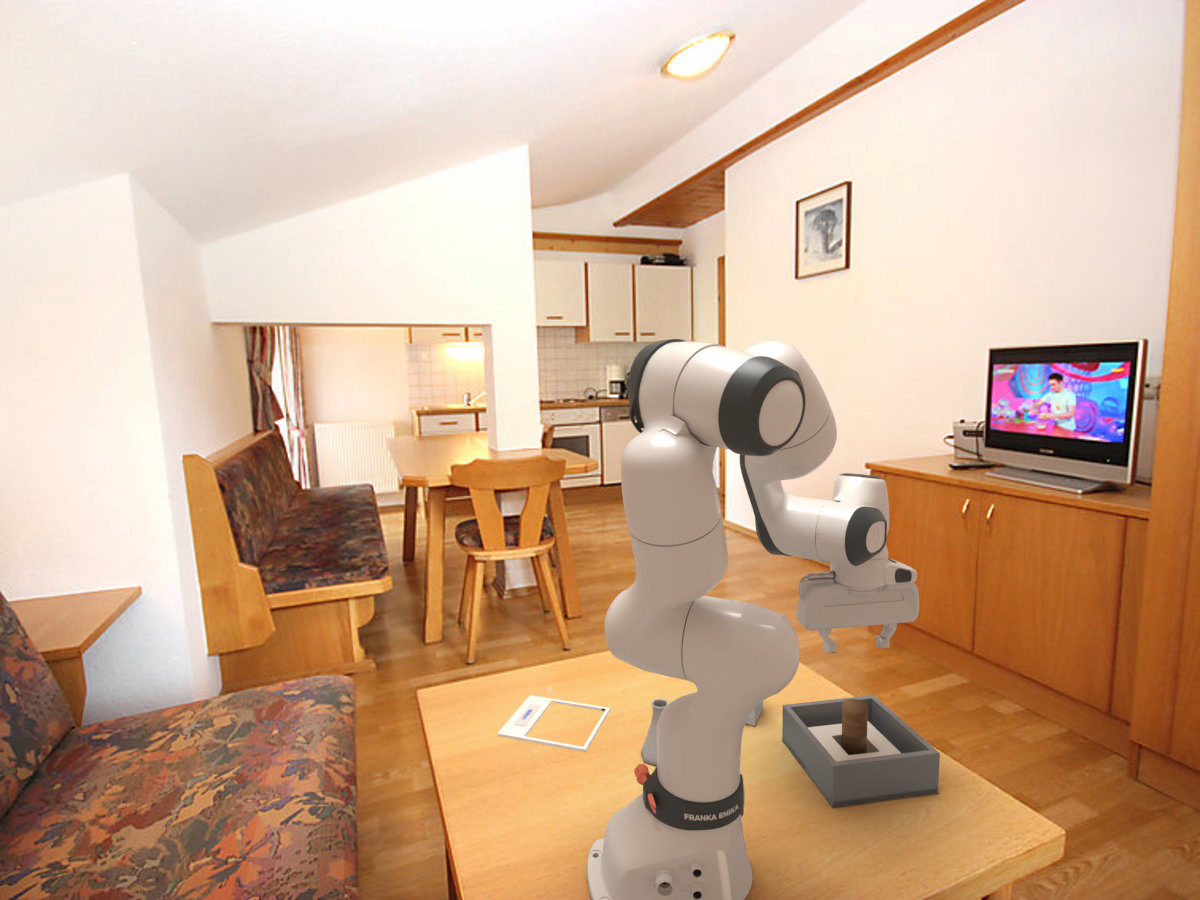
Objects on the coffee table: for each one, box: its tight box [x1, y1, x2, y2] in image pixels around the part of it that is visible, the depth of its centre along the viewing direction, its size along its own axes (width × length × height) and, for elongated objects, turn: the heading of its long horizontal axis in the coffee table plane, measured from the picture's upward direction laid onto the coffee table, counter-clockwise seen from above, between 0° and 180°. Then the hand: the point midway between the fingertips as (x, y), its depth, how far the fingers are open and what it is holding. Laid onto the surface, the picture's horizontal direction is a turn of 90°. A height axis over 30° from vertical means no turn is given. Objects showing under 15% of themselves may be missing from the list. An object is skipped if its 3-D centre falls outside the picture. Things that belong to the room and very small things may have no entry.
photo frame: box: [496, 695, 611, 753], centre depth 121 cm, size 15×1×18 cm
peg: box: [841, 699, 868, 755], centre depth 105 cm, size 4×4×10 cm
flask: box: [640, 697, 670, 767], centre depth 110 cm, size 7×7×10 cm
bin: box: [781, 694, 941, 809], centre depth 105 cm, size 18×18×7 cm
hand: (856, 649), depth 103 cm, fingers open, 8 cm apart
